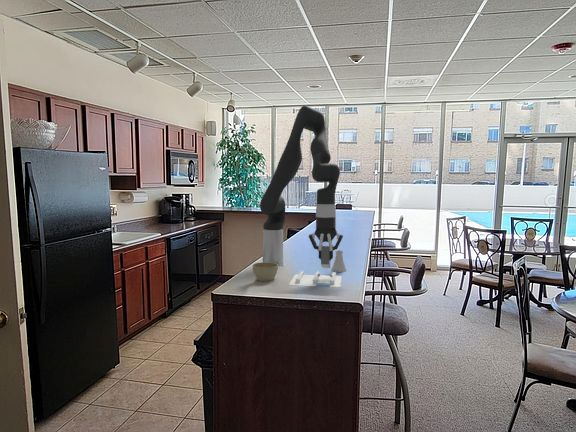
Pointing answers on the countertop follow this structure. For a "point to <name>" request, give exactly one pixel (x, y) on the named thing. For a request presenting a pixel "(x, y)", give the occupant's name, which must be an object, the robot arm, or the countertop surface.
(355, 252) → the countertop surface
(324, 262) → the grey rectangular block
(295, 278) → the board
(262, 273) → the flower pot
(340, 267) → the flask
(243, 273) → the countertop surface
